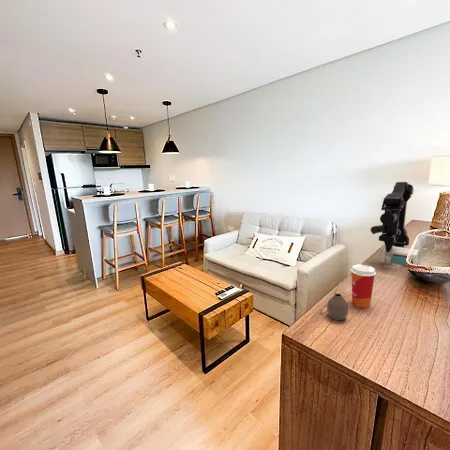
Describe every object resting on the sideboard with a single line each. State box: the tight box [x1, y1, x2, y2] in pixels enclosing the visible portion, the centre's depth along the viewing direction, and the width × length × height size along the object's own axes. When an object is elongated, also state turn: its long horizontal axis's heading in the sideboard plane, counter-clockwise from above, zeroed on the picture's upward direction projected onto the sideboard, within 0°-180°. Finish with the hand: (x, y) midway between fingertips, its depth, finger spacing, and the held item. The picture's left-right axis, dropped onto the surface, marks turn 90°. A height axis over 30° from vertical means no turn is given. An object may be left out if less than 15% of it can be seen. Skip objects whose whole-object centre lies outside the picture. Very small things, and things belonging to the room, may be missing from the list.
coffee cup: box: [350, 263, 377, 309], centre depth 92 cm, size 8×8×15 cm
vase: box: [326, 292, 349, 321], centre depth 86 cm, size 7×7×9 cm
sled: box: [382, 245, 407, 270], centre depth 125 cm, size 14×10×12 cm
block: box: [391, 254, 407, 266], centre depth 127 cm, size 6×6×4 cm
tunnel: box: [381, 246, 420, 265], centre depth 127 cm, size 10×14×8 cm
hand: (388, 251), depth 123 cm, fingers closed on sled, 3 cm apart
